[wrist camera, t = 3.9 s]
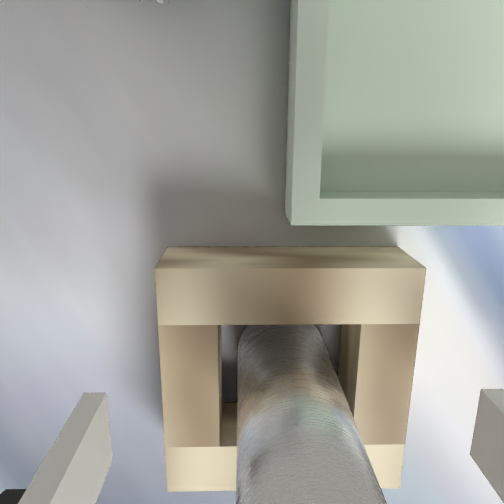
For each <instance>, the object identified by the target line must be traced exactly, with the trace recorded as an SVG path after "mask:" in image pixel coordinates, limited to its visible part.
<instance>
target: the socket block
mask: <svg viewBox="0 0 504 504" xmlns="http://www.w3.org/2000/svg"><path fill="white" fill-rule="evenodd" d="M425 275H426V267H424V266H423V265H422V264H420V263H419V262H418V261H416V260H415V259H414V258H412V257H411V256H410V255H408V254H407V253H406V252H404V251H403V250H402V249H400V248H399V247H168V248H167V249H166V251H165V252H164V254H163V256H162V257H161V259H160V261H159V262H158V264H157V266H156V267H155V285H156V302H157V319H158V337H159V354H160V371H161V388H162V405H163V423H164V440H165V457H166V474H167V491H168V492H174V491H236V464H237V403H222V337H221V325H307V324H342V326H341V341H340V356H339V370H338V380H339V382H340V385H341V387H342V390H343V392H344V395H345V397H346V400H347V403H348V405H349V408H350V410H351V413H352V415H353V418H354V421H355V423H356V426H357V428H358V431H359V433H360V436H361V439H362V441H363V444H364V446H365V449H366V451H367V454H368V457H369V459H370V462H371V464H372V467H373V469H374V472H375V475H376V477H377V480H378V482H379V485H380V487H381V488H400V481H401V473H402V465H403V457H404V448H405V440H406V432H407V424H408V415H409V407H410V399H411V391H412V382H413V374H414V366H415V358H416V349H417V341H418V333H419V325H420V316H421V308H422V300H423V292H424V283H425Z"/></svg>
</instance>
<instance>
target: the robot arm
mask: <svg viewBox="0 0 504 504" xmlns="http://www.w3.org/2000/svg"><path fill="white" fill-rule="evenodd" d="M470 455H471V457H472V458H473V460H474V461H475V463H476V464H477V465H478V467H479V468H480V470H481V471H482V473H483V474H484V475H485V477H486V478H487V480H488V481H489V483H490V484H491V485H492V487H493V488H494V490H495V491H496V493H497V494H498V495H499V497H500V498H501V500H502V501H503V503H504V390H503V389H481V392H480V398H479V404H478V410H477V416H476V422H475V427H474V433H473V439H472V445H471V451H470ZM112 460H113V457H112V447H111V437H110V427H109V417H108V406H107V396H106V393H83V395H82V396H81V398H80V400H79V402H78V403H77V405H76V407H75V408H74V410H73V412H72V413H71V415H70V417H69V418H68V420H67V422H66V423H65V425H64V427H63V429H62V430H61V432H60V434H59V435H58V437H57V439H56V440H55V442H54V444H53V445H52V447H51V449H50V450H49V452H48V454H47V456H46V457H45V459H44V461H43V462H42V464H41V466H40V467H39V469H38V471H37V472H36V474H35V476H34V477H33V479H32V481H31V483H30V484H29V486H28V488H27V489H6V490H5V491H3V492H2V493H1V494H0V504H96V501H97V499H98V496H99V493H100V491H101V488H102V486H103V483H104V481H105V478H106V475H107V473H108V470H109V468H110V465H111V462H112Z"/></svg>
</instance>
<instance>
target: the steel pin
mask: <svg viewBox="0 0 504 504" xmlns="http://www.w3.org/2000/svg"><path fill="white" fill-rule="evenodd" d="M236 504H387V503H386V500H385V498H384V495H383V493H382V490H381V487H380V485H379V482H378V480H377V477H376V475H375V472H374V469H373V467H372V464H371V462H370V459H369V457H368V454H367V451H366V449H365V446H364V444H363V441H362V439H361V436H360V433H359V431H358V428H357V426H356V423H355V421H354V418H353V415H352V413H351V410H350V408H349V405H348V403H347V400H346V397H345V395H344V392H343V390H342V387H341V385H340V382H339V380H338V377H337V374H336V372H335V369H334V367H333V364H332V362H331V359H330V356H329V354H328V351H327V349H326V346H325V344H324V341H323V338H322V336H321V334H320V332H319V330H318V328H317V327H316V326H315V325H314V324H307V325H248V326H247V327H246V329H245V330H244V332H243V333H242V335H241V338H240V340H239V345H238V384H237V464H236Z"/></svg>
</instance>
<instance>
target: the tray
mask: <svg viewBox="0 0 504 504" xmlns="http://www.w3.org/2000/svg"><path fill="white" fill-rule="evenodd" d="M285 214H286V216H287V218H288V220H289V222H290V224H291V225H316V226H504V0H290V33H289V70H288V107H287V145H286V182H285Z"/></svg>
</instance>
